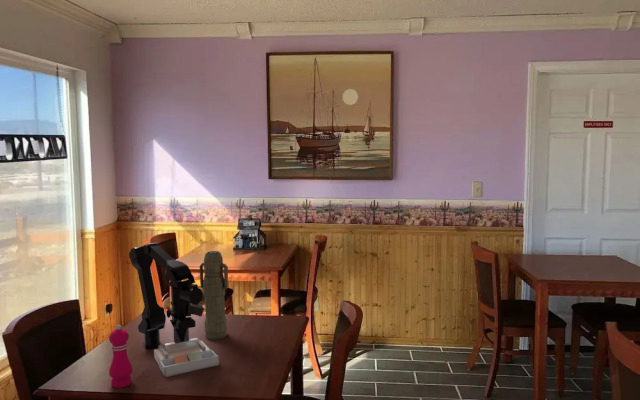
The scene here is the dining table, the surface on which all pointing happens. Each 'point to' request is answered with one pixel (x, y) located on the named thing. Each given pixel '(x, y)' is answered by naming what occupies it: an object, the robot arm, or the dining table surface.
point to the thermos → (214, 294)
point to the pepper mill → (120, 359)
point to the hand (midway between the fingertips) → (181, 340)
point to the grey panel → (181, 343)
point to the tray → (189, 364)
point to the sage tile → (194, 356)
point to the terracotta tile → (180, 359)
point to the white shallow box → (178, 352)
